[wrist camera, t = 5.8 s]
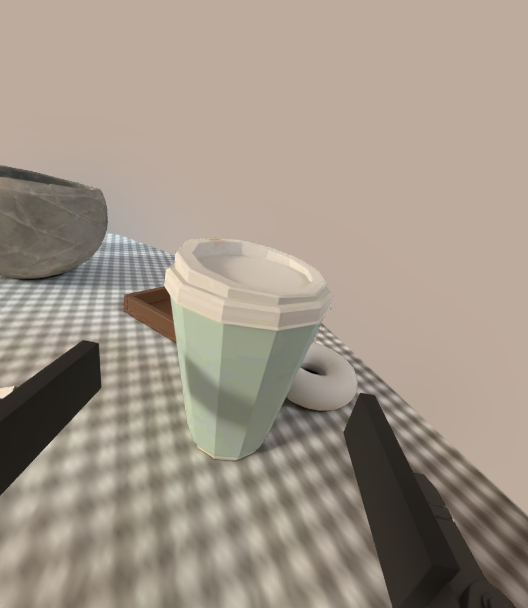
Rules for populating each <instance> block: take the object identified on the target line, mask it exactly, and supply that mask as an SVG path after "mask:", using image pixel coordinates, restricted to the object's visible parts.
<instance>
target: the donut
mask: <svg viewBox="0 0 528 608" xmlns="http://www.w3.org/2000/svg"><path fill="white" fill-rule="evenodd" d="M304 369H308V370H312V371H314V372H316V373H318V374H320V375H321V376H320V375H316V374H312V373H310V372H307V371H305V370H304ZM357 383H358V381H357V377H356V374H355V372H354V369H353V368H352V366H351V365H350V364H349V363H348V361H347V360H346V359H345V358H343V357H342V356H341V355H340V354H338V353H337V352H335V351H333V350H331V349H330V348H328V347H325V346H322V345H320V344H317V343H311V345H310V347H309V350H308V352H307V354H306V356H305V358H304V360H303V362H302V364H301V366H300V369H299V371H298V373H297V375H296V377H295V379H294V381H293V383H292V385H291V387H290V390H289V392H288V394H287V396H286V398H288V399H289V400H290V401H292V402H294V403H296V404H298V405H300V406H302V407H305V408H309V409H314V410H318V411H322V410H336V409H338V408H341V407H343V406H345V405H347V404H348V403H349V402H350V401H351V400H352V399H353V397H354V396H355V394H356V390H357Z"/></svg>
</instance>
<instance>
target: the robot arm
mask: <svg viewBox="0 0 528 608" xmlns="http://www.w3.org/2000/svg"><path fill="white" fill-rule="evenodd" d="M100 389H101V374H100V356H99V343H95V342H90V341H85V340H83V341H81V342H80V343H79V344H77V345H76V346H74V347H73V348H72V349H70V350H69V351H68V352H66V353H65V354H63V355H62V356H61V357H59V358H58V359H56V360H55V361H54V362H52V363H51V364H50V365H48V366H47V367H45V368H44V369H43V370H41V371H40V372H39V373H37V374H36V375H34V376H33V377H32V378H30V379H29V380H28V381H26V382H25V383H23V384H22V385H21V386H19V387H18V388H16V389H15V390H14V391H12V392H11V393H10V394H8V395H7V396H5V397H4V398H3V399H2V398H0V495H1V494H2V493H3V492H4V491H5V490H6V489H7V488H8V487H9V486H10V485H11V484H12V483H13V482H14V480H15V479H16V478H17V477H18V476H19V475H20V474H21V473H22V472H23V471H24V470H25V469H26V468H27V467H28V466H29V464H30V463H31V462H32V461H33V460H34V459H35V458H36V457H37V456H38V455H39V454H40V453H41V452H42V451H43V449H44V448H45V447H46V446H47V445H48V444H49V443H50V442H51V441H52V440H53V439H54V438H55V437H56V436H57V435H58V433H59V432H60V431H61V430H62V429H63V428H64V427H65V426H66V425H67V424H68V423H69V422H70V421H71V420H72V418H73V417H74V416H75V415H76V414H77V413H78V412H79V411H80V410H81V409H82V408H83V407H84V406H85V405H86V404H87V402H88V401H89V400H90V399H91V398H92V397H93V396H94V395H95V394H96V393H97V392H98V391H99V390H100ZM343 433H344V436H345V440H346V444H347V447H348V451H349V454H350V458H351V461H352V465H353V468H354V472H355V476H356V479H357V483H358V486H359V490H360V493H361V497H362V500H363V504H364V507H365V511H366V515H367V518H368V522H369V525H370V529H371V532H372V536H373V539H374V543H375V547H376V550H377V554H378V557H379V561H380V564H381V568H382V571H383V575H384V579H385V582H386V586H387V589H388V593H389V596H390V600H391V603H392V607H393V608H516V607H515V606H514V605H513V603H512V602H511V601H510V600H509V599H508V598H507V597H506V596H505V595H504V594H503V593H502V592H501V591H500V590H499V589H497V588H496V587H494V586H493V585H491V584H490V583H488V581H487V580H486V578H485V577H484V575H483V573H482V571H481V570H480V568H479V566H478V564H477V562H476V560H475V559H474V557H473V555H472V553H471V551H470V550H469V548H468V546H467V544H466V542H465V540H464V539H463V537H462V535H461V533H460V531H459V529H458V528H457V526H456V524H455V522H453V520H452V517H451V515H450V513H449V511H448V509H447V508H445V504H444V502H443V500H442V498H441V497H440V495H439V493H438V491H437V489H436V488H435V487H434V486H433V485H432V483H431V482H430V481H429V480H428V479H427V478H426V476H425V475H423V474H417V473H413V472H412V470H411V468H410V466H409V463H408V461H407V459H406V457H405V455H404V453H403V451H402V449H401V447H400V445H399V443H398V441H397V439H396V437H395V435H394V433H393V431H392V429H391V427H390V425H389V423H388V421H387V419H386V417H385V415H384V413H383V411H382V409H381V407H380V405H379V403H378V401H377V399H376V397H375V396H374V395H369V394H364V393H360V394H359V397H358V399H357V401H356V404H355V406H354V408H353V411H352V413H351V416H350V418H349V420H348V423H347V425H346V428H345V430H344V432H343Z"/></svg>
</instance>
